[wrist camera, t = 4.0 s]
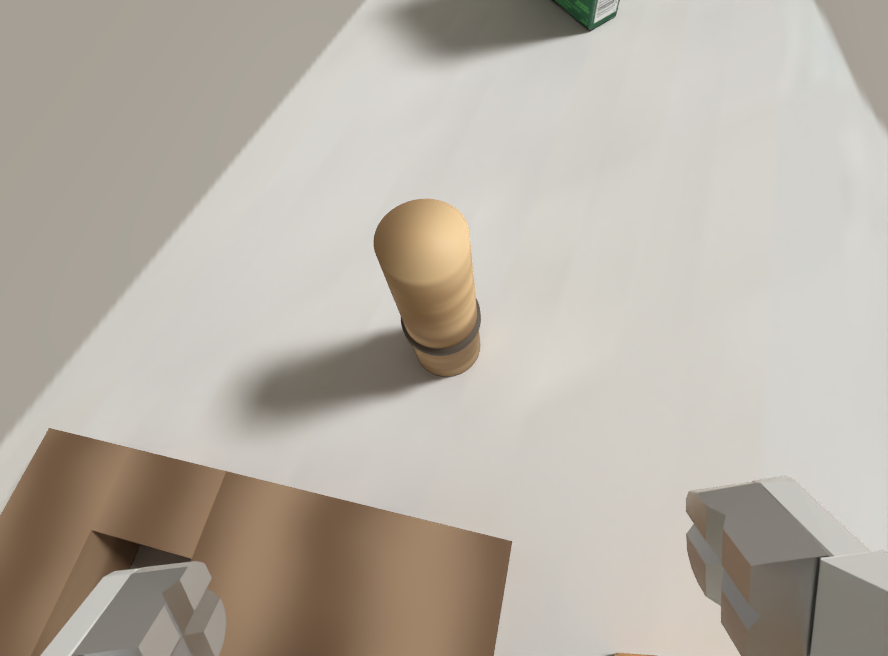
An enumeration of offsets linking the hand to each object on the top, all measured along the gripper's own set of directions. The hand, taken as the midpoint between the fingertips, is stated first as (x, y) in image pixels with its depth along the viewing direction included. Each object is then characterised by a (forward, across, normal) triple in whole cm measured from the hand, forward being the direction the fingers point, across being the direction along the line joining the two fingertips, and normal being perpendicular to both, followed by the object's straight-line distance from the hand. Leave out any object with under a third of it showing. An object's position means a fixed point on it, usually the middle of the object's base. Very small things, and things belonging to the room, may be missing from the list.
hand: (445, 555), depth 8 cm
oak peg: (+18, 0, -4) cm, 19 cm away
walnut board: (+10, -11, -12) cm, 19 cm away
